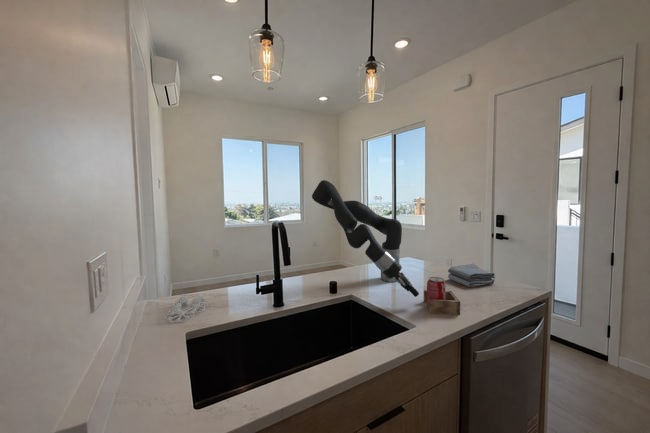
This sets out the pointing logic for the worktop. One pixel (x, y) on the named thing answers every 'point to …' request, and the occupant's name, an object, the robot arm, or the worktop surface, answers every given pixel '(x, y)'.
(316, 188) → the robot arm
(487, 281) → the towel
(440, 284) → the soda can
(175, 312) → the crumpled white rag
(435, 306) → the wooden tray
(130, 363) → the worktop surface
